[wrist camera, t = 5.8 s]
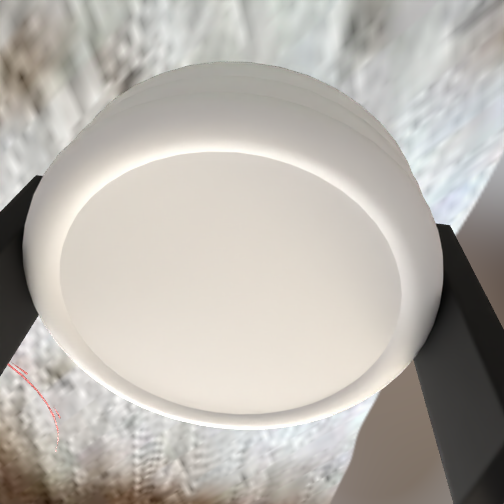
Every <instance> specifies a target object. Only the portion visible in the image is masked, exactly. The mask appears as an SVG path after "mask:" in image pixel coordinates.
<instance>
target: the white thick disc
mask: <svg viewBox="0 0 504 504" xmlns="http://www.w3.org/2000/svg"><path fill="white" fill-rule="evenodd" d="M22 249H23V267H24V272H25V277H26V281H27V286H28V289H29V292H30V295H31V298H32V301H33V303H34V306H35V308H36V310H37V312H38V314H39V316H40V318H41V320H42V322H43V324H44V325H45V327H46V328H47V330H48V331H49V332H50V334H51V335H52V337H53V338H54V340H55V341H56V342H57V343H58V344H59V346H60V347H61V348H62V349H63V350H64V351H65V353H66V354H67V355H68V356H69V357H70V358H71V359H72V360H73V361H74V362H75V363H76V364H77V365H78V366H79V367H80V368H81V369H82V370H83V371H85V372H86V373H87V374H88V375H89V376H91V377H92V378H93V379H95V380H96V381H97V382H98V383H100V384H101V385H102V386H104V387H106V388H107V389H109V390H110V391H112V392H114V393H115V394H117V395H118V396H120V397H122V398H124V399H126V400H128V401H130V402H132V403H134V404H136V405H138V406H140V407H142V408H145V409H147V410H150V411H152V412H155V413H157V414H160V415H163V416H167V417H170V418H173V419H176V420H180V421H184V422H188V423H193V424H198V425H203V426H210V427H217V428H227V429H271V428H281V427H289V426H294V425H299V424H304V423H309V422H312V421H316V420H319V419H323V418H326V417H329V416H331V415H334V414H336V413H339V412H341V411H344V410H346V409H348V408H350V407H352V406H354V405H356V404H358V403H360V402H362V401H364V400H365V399H367V398H369V397H370V396H372V395H373V394H375V393H376V392H378V391H379V390H381V389H382V388H384V387H385V386H387V384H389V383H390V382H391V381H392V380H393V379H395V378H396V377H397V376H398V375H399V374H400V373H401V372H402V371H403V370H404V369H405V368H406V367H407V366H408V365H409V364H410V362H411V361H412V360H413V359H414V358H415V356H416V355H417V353H418V352H419V350H420V349H421V348H422V346H423V345H424V343H425V341H426V339H427V337H428V335H429V333H430V331H431V329H432V327H433V325H434V322H435V318H436V315H437V312H438V309H439V306H440V300H441V293H442V286H443V252H442V247H441V242H440V237H439V232H438V229H437V226H436V224H435V221H434V218H433V216H432V213H431V211H430V208H429V206H428V205H427V203H426V201H425V199H424V198H423V195H422V193H421V190H420V188H419V185H418V183H417V181H416V179H415V177H414V176H413V174H412V172H411V169H410V166H409V164H408V162H407V160H406V158H405V156H404V155H403V153H402V151H401V149H400V148H399V146H398V144H397V143H396V141H395V140H394V139H393V137H392V136H391V135H390V134H389V133H388V131H387V130H386V129H385V128H384V126H383V125H382V124H381V123H380V122H379V121H378V120H377V119H376V118H375V117H374V116H372V115H371V114H370V113H369V112H368V111H367V110H366V109H365V108H363V107H362V106H361V105H360V104H359V103H357V102H356V101H354V100H353V99H351V98H350V97H348V96H347V95H345V94H343V93H342V92H340V91H339V90H337V89H336V88H334V87H332V86H330V85H328V84H325V83H323V82H321V81H319V80H317V79H315V78H313V77H310V76H308V75H305V74H302V73H298V72H295V71H292V70H288V69H285V68H282V67H277V66H270V65H264V64H257V63H250V62H212V63H204V64H196V65H189V66H185V67H182V68H178V69H175V70H171V71H168V72H164V73H161V74H159V75H157V76H154V77H152V78H150V79H148V80H146V81H143V82H141V83H139V84H137V85H135V86H134V87H132V88H130V89H129V90H127V91H126V92H124V93H123V94H121V95H120V96H118V97H117V98H115V99H114V100H113V101H112V102H111V103H109V104H108V105H107V106H106V107H105V108H104V109H103V110H102V111H101V112H100V113H99V114H98V115H97V116H96V117H95V118H94V119H93V121H92V122H91V123H90V124H89V125H87V126H86V127H85V128H84V129H83V130H82V131H81V132H80V133H79V134H78V136H77V137H76V138H75V139H74V140H73V141H72V142H71V143H70V144H69V145H68V146H67V147H66V148H65V149H64V150H62V151H61V152H60V153H59V155H58V156H57V157H56V159H55V160H54V161H53V163H52V164H51V165H50V167H49V168H48V169H47V171H46V172H45V173H44V175H43V177H42V179H41V181H40V183H39V185H38V187H37V189H36V191H35V193H34V195H33V198H32V202H31V205H30V208H29V212H28V215H27V219H26V223H25V228H24V236H23V245H22Z"/></svg>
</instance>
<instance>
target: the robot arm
mask: <svg viewBox="0 0 504 504" xmlns="http://www.w3.org/2000/svg"><path fill="white" fill-rule="evenodd" d="M42 177H43V176H38V175H36V176H35V177H34V178H33V179H32V180H31V181H30V182H29V183H28V184H27V185H26V186H25V187H24V188H23V189H22V190H21V191H20V192H19V193H18V194H17V195H16V196H15V197H14V198H13V199H12V200H11V202H10V203H9V204H8V205H7V206H6V207H5V208H4V209H3V210H2V211H1V212H0V376H1V374H2V373H3V371H4V369H5V368H6V366H7V365H8V363H9V362H10V360H11V358H12V357H13V355H14V354H15V352H16V350H17V349H18V347H19V346H20V344H21V342H22V341H23V339H24V338H25V336H26V334H27V333H28V331H29V330H30V328H31V326H32V325H33V323H34V322H35V320H36V318H37V317H38V315H39V314H38V312H37V310H36V308H35V306H34V303H33V301H32V298H31V295H30V292H29V289H28V286H27V281H26V277H25V272H24V267H23V249H22V245H23V236H24V228H25V223H26V219H27V215H28V212H29V208H30V205H31V202H32V198H33V195H34V193H35V191H36V189H37V187H38V185H39V183H40V181H41V179H42ZM435 224H436V223H435ZM436 226H437V229H438V232H439V237H440V242H441V247H442V252H443V286H442V293H441V300H440V306H439V309H438V312H437V315H436V318H435V322H434V325H433V327H432V329H431V331H430V333H429V335H428V337H427V339H426V341H425V343H424V345H423V346H422V348H421V349H420V350H419V352H418V353H417V355H416V356H415V358H414V359H413V360H414V363H415V367H416V371H417V374H418V378H419V381H420V385H421V389H422V392H423V395H424V399H425V403H426V407H427V410H428V414H429V417H430V421H431V424H432V428H433V432H434V435H435V439H436V443H437V446H438V450H439V453H440V457H441V460H442V464H443V468H444V471H445V475H446V479H447V482H448V486H449V489H450V493H451V496H452V500H453V504H504V329H503V327H502V325H501V323H500V322H499V320H498V318H497V316H496V314H495V312H494V310H493V308H492V306H491V304H490V302H489V300H488V298H487V296H486V295H485V292H484V291H483V289H482V287H481V285H480V283H479V281H478V279H477V277H476V275H475V273H474V271H473V269H472V267H471V265H470V263H469V261H468V259H467V258H466V256H465V254H464V252H463V250H462V248H461V246H460V244H459V242H458V240H457V238H456V236H455V234H454V232H453V230H452V228H451V227H450V225H444V224H436Z"/></svg>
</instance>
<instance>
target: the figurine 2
mask: <svg viewBox="0 0 504 504" xmlns="http://www.w3.org/2000/svg"><path fill="white" fill-rule="evenodd" d="M10 362H11V361H10ZM11 363H12V362H11ZM14 365H15V364H14ZM8 366H9V367H11V368H12V369H13V370H15V371H16V372H17V373H18V374H20V375H21V376H22V377H23V378H24V379H25V380H26V381H27V382H28V383H29V384H30V385H31V386H32V387H33V388H34V389H35V390H36V391H37V392H38V394H39V395H40V396H41V398H42V399H43V400H44V402H45V403H46V404H47V406H48V408H49V410H50V412H51V414H52V416H53V417H54V415H53V413H52V411H51V409H50V407H49V405H48V403H47V402H46V400H45V399H44V398H43V396H42V395H41V394H40V393H39V391H38V390H37V389H36V388H35V387H34V386H33V385H32V384H31V383H30V382H29V381H28V380H27V379H26V378H25V377H24V376H23V375H22V374H21V373H20V372H19V371H17V370H16V369H15V368H14V367H12V366H11V365H10V364H9V363H8ZM15 366H16V365H15ZM16 367H18V366H16ZM18 368H19V367H18ZM19 369H20V370H21V371H23V372H24V373H25V374H26V375H27V374H28V373H26V372H25V371H24V370H22V369H21V368H19ZM55 410H56V409H55ZM56 412H57V411H56ZM57 414H58V412H57ZM58 416H59V414H58ZM59 418H60V416H59ZM54 420H55V417H54ZM55 424H56V427H57V423H56V420H55ZM57 431H58V427H57ZM57 445H58V444H57ZM56 448H57V447H56ZM55 452H56V451H55Z"/></svg>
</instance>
